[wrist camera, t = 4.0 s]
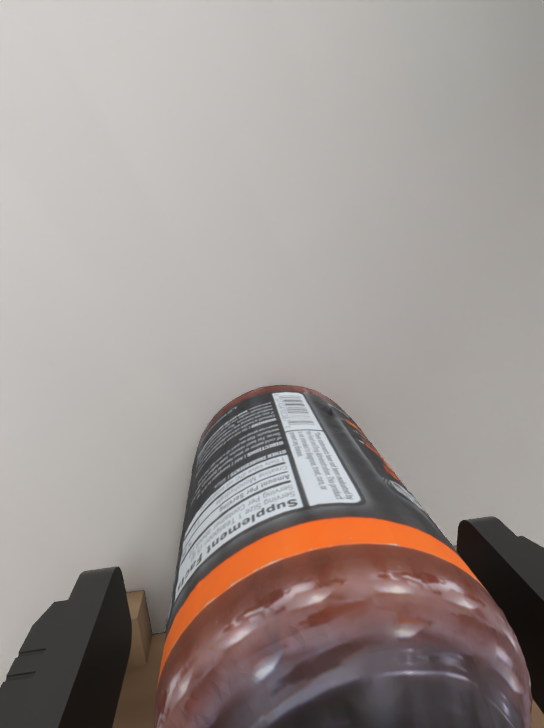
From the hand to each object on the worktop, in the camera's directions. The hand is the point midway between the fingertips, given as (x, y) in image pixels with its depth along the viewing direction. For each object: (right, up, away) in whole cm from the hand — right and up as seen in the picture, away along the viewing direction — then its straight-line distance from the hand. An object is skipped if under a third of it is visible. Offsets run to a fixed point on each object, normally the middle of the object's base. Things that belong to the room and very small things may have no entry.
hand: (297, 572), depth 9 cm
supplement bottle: (0, +2, +5) cm, 5 cm away
